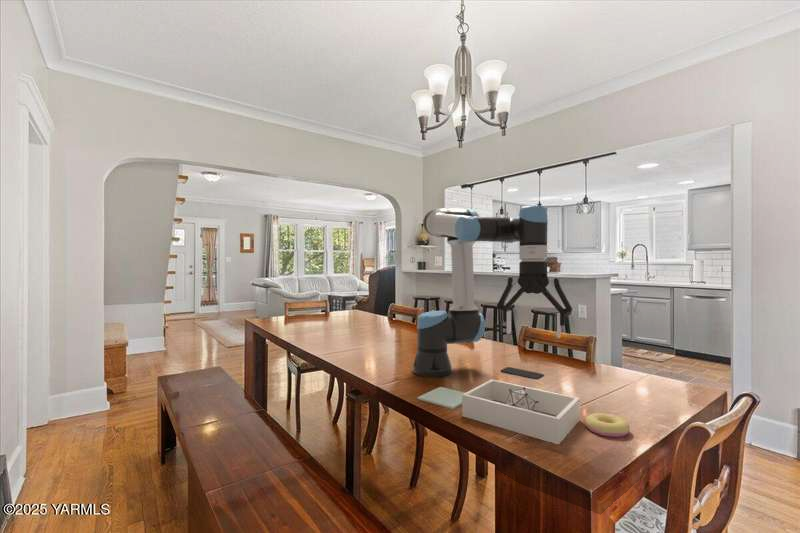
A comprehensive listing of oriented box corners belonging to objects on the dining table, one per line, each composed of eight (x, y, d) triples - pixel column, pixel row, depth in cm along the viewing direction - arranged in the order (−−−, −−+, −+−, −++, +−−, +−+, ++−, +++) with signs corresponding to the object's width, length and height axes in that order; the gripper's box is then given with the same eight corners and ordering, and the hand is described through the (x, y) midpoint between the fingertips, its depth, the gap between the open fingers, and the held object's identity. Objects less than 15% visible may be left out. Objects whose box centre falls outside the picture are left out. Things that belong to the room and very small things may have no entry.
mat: (417, 399, 119) (417, 397, 119) (440, 388, 129) (440, 386, 129) (453, 409, 110) (453, 407, 110) (474, 397, 120) (474, 395, 120)
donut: (582, 430, 102) (594, 441, 93) (579, 412, 103) (590, 421, 94) (622, 427, 100) (637, 438, 91) (618, 409, 101) (633, 418, 92)
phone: (537, 378, 138) (499, 370, 148) (537, 380, 138) (499, 372, 148) (544, 374, 144) (507, 366, 154) (544, 376, 144) (507, 368, 154)
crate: (462, 416, 106) (462, 394, 106) (491, 398, 120) (491, 379, 119) (558, 444, 89) (558, 419, 89) (579, 420, 103) (579, 398, 103)
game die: (526, 434, 103) (542, 413, 97) (496, 420, 104) (509, 399, 99) (529, 407, 110) (543, 387, 104) (501, 395, 112) (513, 374, 106)
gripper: (486, 261, 111) (486, 333, 111) (580, 260, 99) (580, 341, 99) (493, 261, 117) (493, 329, 117) (582, 260, 105) (582, 336, 105)
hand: (533, 335), depth 108 cm, fingers open, 13 cm apart
